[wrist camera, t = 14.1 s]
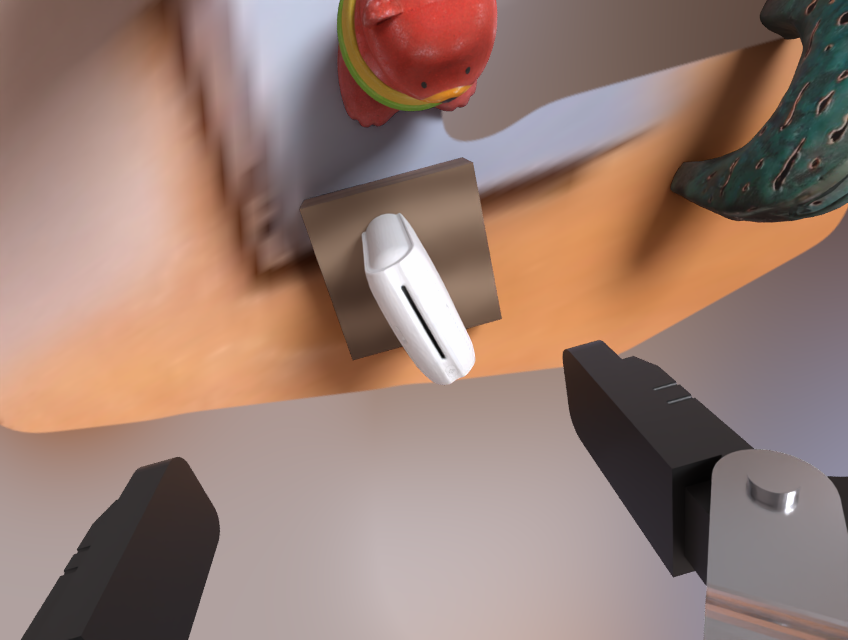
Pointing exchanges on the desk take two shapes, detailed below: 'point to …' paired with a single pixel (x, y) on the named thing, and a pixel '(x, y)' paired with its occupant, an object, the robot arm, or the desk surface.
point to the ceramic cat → (788, 130)
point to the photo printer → (415, 300)
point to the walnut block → (434, 226)
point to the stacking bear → (411, 54)
